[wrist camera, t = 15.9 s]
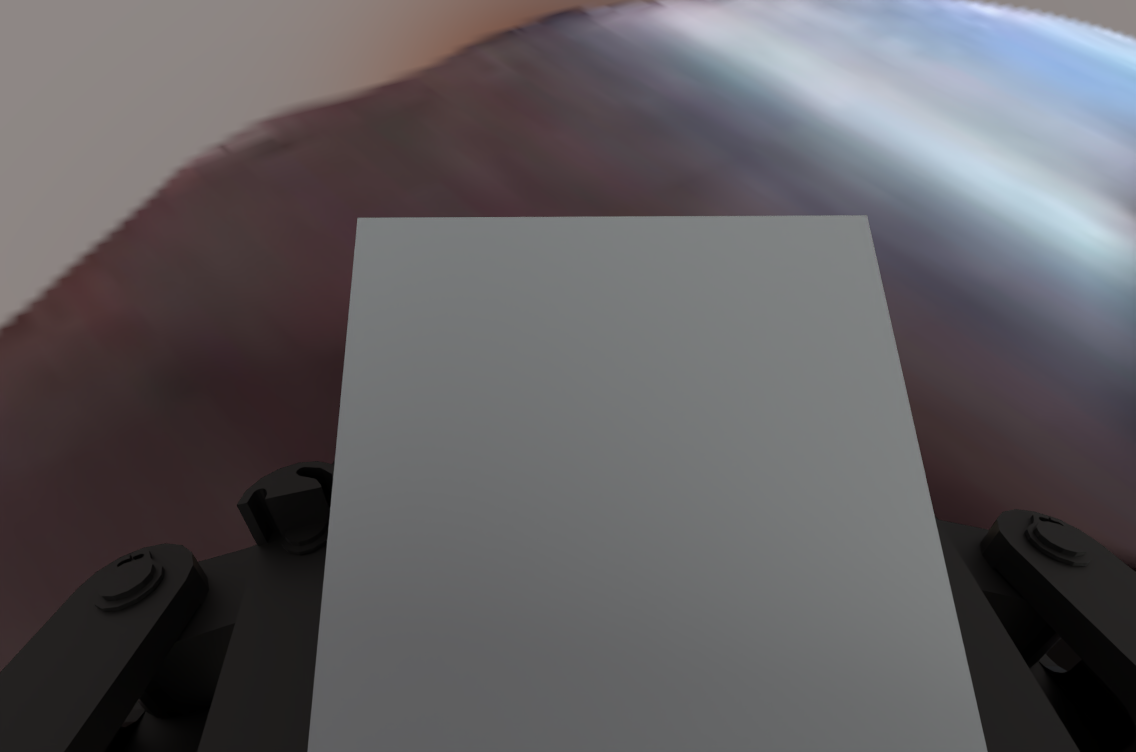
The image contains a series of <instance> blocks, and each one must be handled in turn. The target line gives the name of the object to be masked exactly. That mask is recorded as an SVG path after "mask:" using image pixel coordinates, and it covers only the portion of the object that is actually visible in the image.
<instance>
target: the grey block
mask: <svg viewBox="0 0 1136 752" xmlns="http://www.w3.org/2000/svg"><path fill="white" fill-rule="evenodd" d="M307 752H988V751H987V747H986V742H985V738H984V734H983V729H982V725H981V720H980V716H979V711H978V707H977V702H976V698H975V694H974V689H973V685H972V680H971V676H970V671H969V667H968V662H967V658H966V654H965V649H964V645H963V640H962V636H961V631H960V627H959V623H958V618H957V614H956V609H955V605H954V600H953V596H952V591H951V587H950V583H949V578H948V574H947V569H946V565H945V560H944V556H943V551H942V547H941V543H940V538H939V534H938V529H937V525H936V520H935V516H934V511H933V507H932V503H931V498H930V494H929V489H928V485H927V480H926V476H925V471H924V467H923V463H922V458H921V454H920V449H919V445H918V440H917V436H916V432H915V427H914V423H913V418H912V414H911V409H910V405H909V400H908V396H907V392H906V387H905V383H904V378H903V374H902V369H901V365H900V360H899V356H898V352H897V347H896V343H895V338H894V334H893V329H892V325H891V320H890V316H889V312H888V307H887V303H886V298H885V294H884V289H883V285H882V281H881V276H880V272H879V267H878V263H877V258H876V254H875V249H874V245H873V241H872V236H871V232H870V227H869V223H868V218H867V215H865V216H656V217H448V218H358V220H357V231H356V242H355V252H354V263H353V273H352V284H351V295H350V305H349V316H348V327H347V337H346V348H345V358H344V369H343V380H342V390H341V401H340V411H339V422H338V433H337V443H336V454H335V465H334V475H333V486H332V496H331V507H330V518H329V528H328V539H327V549H326V560H325V571H324V581H323V592H322V603H321V613H320V624H319V634H318V645H317V656H316V666H315V677H314V687H313V698H312V709H311V719H310V730H309V741H308V751H307Z"/></svg>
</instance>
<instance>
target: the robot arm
mask: <svg viewBox="0 0 1136 752" xmlns="http://www.w3.org/2000/svg"><path fill="white" fill-rule="evenodd" d="M334 465H335V460H334V462H333V464H329V463H324V462H319V461H315V462H302V463H297V464H294V465H290V466H287V467H284V468H280V469H278V470H276V471H274V472H272V473H270V474H269V475H267V476H265V477H263V478H261V479H260V480H259V481H257V482H256V483H255V484H254V485H253V486H251V487H250V488H249V489H248V490H246V492H245V493H244V495H243V496H242V498H241V499H240V501H239V502H238V504H237V507H238V508H239V510H240V512H241V514H242V516H243V518H244V520H245V522H246V524H247V526H248V528H249V530H250V532H251V534H252V536H253V538H254V540H255V541H256V543H257V545H255V546H252V547H249V548H246V549H243V550H240V551H236V552H232V553H229V554H225V555H222V556H218V557H214V558H211V559H207V560H204V561H200V562H197V560H196V558H195V557H194V555H193V554H192V552H190V551H189V550H188V549H187V548H185V547H184V546H183V545H176V544H160V545H155V546H150V547H145V548H142V549H140V550H137V551H135V552H132V553H130V554H128V555H125V556H123V557H120V558H119V559H117V560H115V561H114V562H112V563H110V564H109V565H107V566H105V567H104V568H102V569H101V570H99V571H97V572H96V573H95V574H94V575H93V576H92V577H90V578H89V579H88V580H87V581H86V582H85V583H84V584H82V585H81V586H80V587H79V588H78V589H77V590H76V591H75V592H74V593H73V594H72V595H71V596H70V597H69V599H68V600H67V601H66V602H65V603H64V604H63V605H62V606H61V607H60V608H59V609H58V610H57V612H56V613H55V614H54V615H53V616H52V617H51V618H50V619H49V620H48V621H47V622H46V623H45V625H44V626H43V627H42V628H41V629H40V630H39V631H38V632H37V633H36V634H35V635H34V636H33V638H32V639H31V640H30V641H29V642H28V643H27V644H26V645H25V646H24V647H23V648H22V649H21V651H20V652H19V653H18V654H17V655H16V656H15V657H14V658H13V659H12V660H11V661H10V662H9V664H8V665H7V666H6V667H5V668H4V669H3V670H2V671H1V672H0V752H307V751H308V741H309V730H310V719H311V709H312V698H313V687H314V677H315V666H316V656H317V645H318V634H319V624H320V613H321V603H322V592H323V581H324V571H325V560H326V549H327V539H328V528H329V518H330V507H331V496H332V486H333V475H334ZM934 516H935V515H934ZM935 520H936V525H937V529H938V534H939V538H940V543H941V547H942V551H943V556H944V560H945V565H946V569H947V574H948V578H949V583H950V587H951V591H952V596H953V600H954V605H955V609H956V614H957V618H958V623H959V627H960V631H961V636H962V640H963V645H964V649H965V654H966V658H967V662H968V667H969V671H970V676H971V680H972V685H973V689H974V694H975V698H976V702H977V707H978V711H979V716H980V720H981V725H982V729H983V734H984V738H985V742H986V747H987V751H988V752H1136V572H1135V571H1134V570H1132V569H1131V568H1130V567H1129V566H1127V565H1126V564H1125V563H1124V562H1122V561H1121V560H1120V559H1119V558H1117V557H1116V556H1115V555H1114V554H1112V553H1111V552H1110V551H1109V550H1107V549H1106V548H1105V547H1104V546H1102V545H1101V544H1100V543H1098V542H1097V541H1095V540H1094V539H1093V538H1091V537H1090V536H1088V535H1087V534H1085V533H1084V532H1082V531H1081V530H1079V529H1077V528H1075V527H1073V526H1071V525H1069V524H1067V523H1065V522H1063V521H1061V520H1059V519H1056V518H1053V517H1051V516H1047V515H1044V514H1040V513H1037V512H1033V511H1025V510H1017V509H1015V510H1010V511H1005V512H1002V514H1001V515H1000V516H999V517H998V518H997V520H996V521H995V523H994V524H993V525H992V527H991V528H990V530H987V529H982V528H977V527H972V526H967V525H962V524H957V523H952V522H947V521H942V520H938V519H937V517H936V516H935Z"/></svg>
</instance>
